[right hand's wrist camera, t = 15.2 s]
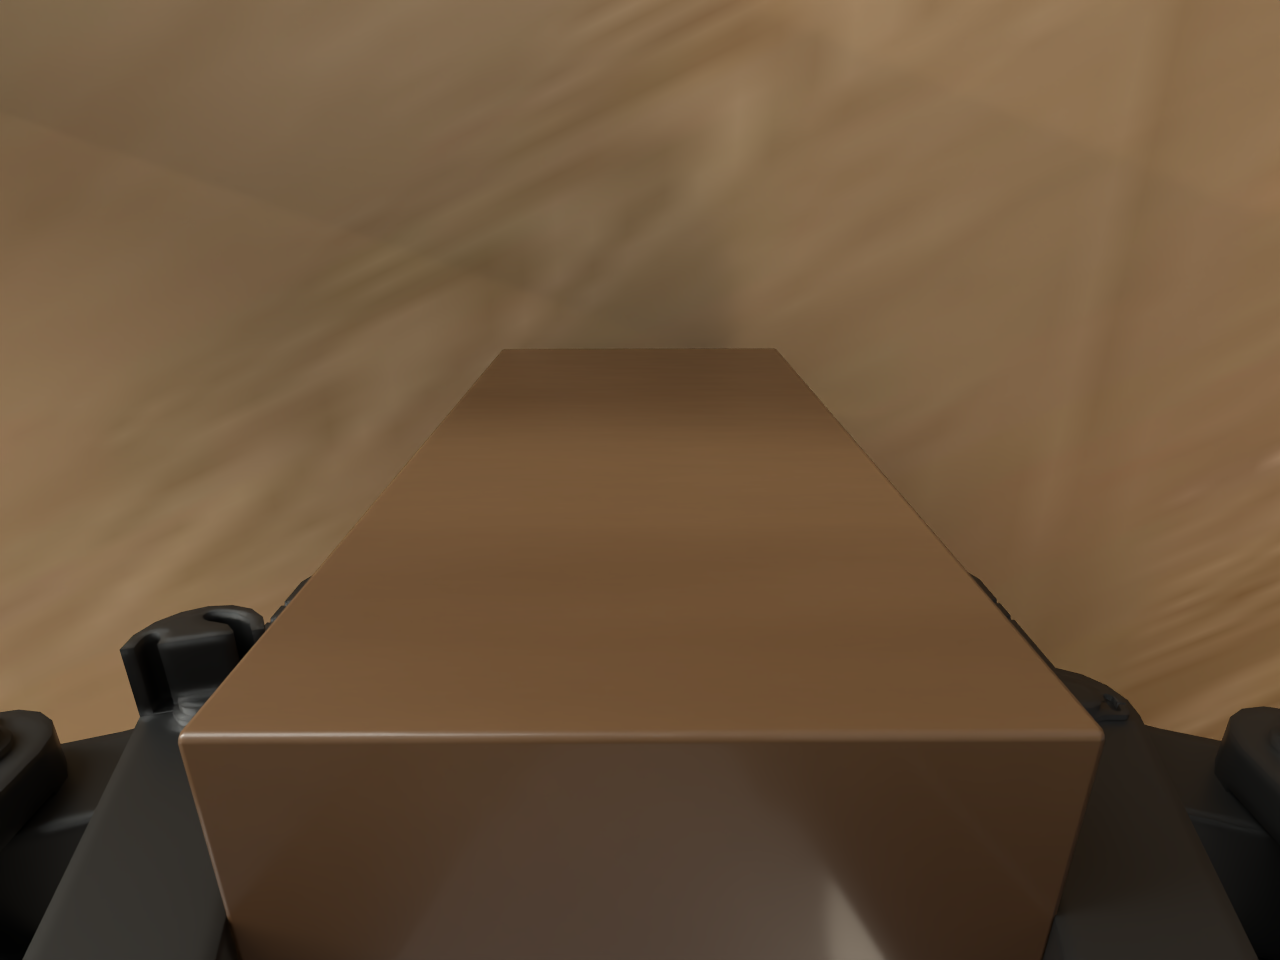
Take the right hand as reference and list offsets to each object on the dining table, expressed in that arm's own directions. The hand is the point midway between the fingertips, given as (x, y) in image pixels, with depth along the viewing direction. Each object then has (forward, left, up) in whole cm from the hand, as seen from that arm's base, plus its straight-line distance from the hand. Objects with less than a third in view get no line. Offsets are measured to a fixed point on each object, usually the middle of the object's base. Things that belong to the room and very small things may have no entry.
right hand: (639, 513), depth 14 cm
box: (+10, -2, -2) cm, 11 cm away
